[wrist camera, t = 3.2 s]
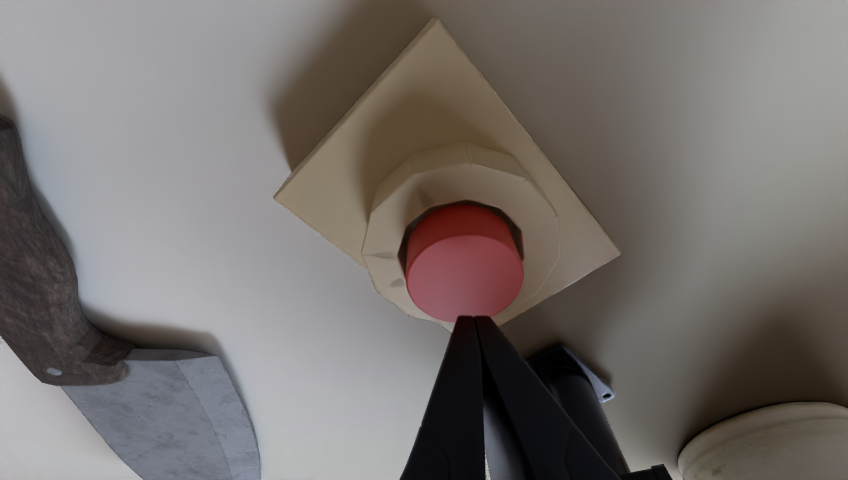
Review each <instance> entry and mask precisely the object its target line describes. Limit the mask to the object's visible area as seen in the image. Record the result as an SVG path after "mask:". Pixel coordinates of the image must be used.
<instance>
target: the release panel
mask: <svg viewBox="0 0 848 480" xmlns="http://www.w3.org/2000/svg"><path fill="white" fill-rule="evenodd" d="M273 198H274V200H275V201H277V202H278V203H279V204H281V205H282V206H283V207H285V208H286V209H287V210H289V211H290V212H291V213H293V214H294V215H295V216H297V217H298V218H299V219H301V220H302V221H303V222H305V223H306V224H307V225H309V226H310V227H311V228H312V229H314V230H315V231H316V232H318V233H319V234H320V235H322V236H323V237H324V238H326V239H327V240H328V241H330V242H331V243H332V244H334V245H335V246H336V247H338V248H339V249H340V250H342V251H343V252H344V253H346V254H347V255H348V256H349V257H351V258H352V259H353V260H355V261H356V262H357V263H359V264H360V265H361V266H363V267H364V268H365V269H367V270H368V272H369V274H370V277H371V279H372V282H373V284H374V286H375V289H376V290H377V292H378V293H379V294H380V295H382V296H383V297H384V298H386V299H387V300H388V301H390V302H391V303H393V304H394V305H395V306H397V307H398V308H399V309H401V310H402V311H403V312H405V313H406V314H408V315H409V316H412V317H416V318H421V319H426V320H431V321H435V322H437V323H438V324H439V325H441V326H442V327H443V328H445V329H446V330H447V331H449V332H450V333H451V334H452V331H453V328H454V325H455V323H452V322H446V321H442V320H439V319H436V318H433V317H431V316H429V315H427V314H426V313H424V312H423V311H422V310H421V309H419V308H418V307H417V306H416V305H415V303H414V302H413V301H412V299H411V298H410V296H409V293H408V291H407V287H406V265H407V249H408V242H409V238H410V236H411V233H412V232H413V230H414V228H415V227H416V226H417V224H418V223H419V222H420V221H421V220H422V219H423V218H425V217H426V216H427V215H429V214H430V213H432V212H434V211H436V210H438V209H440V208H443V207H447V206H451V205H459V204H467V205H475V206H479V207H482V208H485V209H487V210H489V211H491V212H493V213H495V214H496V215H498V216H499V217H500V218H501V219H502V220H503V221H504V222H505V224H506V225H507V227H508V228H509V230H510V233H511V236H512V238H513V241H514V243H515V246H516V249H517V251H518V254H519V257H520V259H521V262H522V265H523V270H524V277H523V283H522V286H521V289H520V291H519V293H518V295H517V296H516V298H515V299H514V300H513V302H512V303H511V304H510V305H509V306H508V307H506V308H505V309H504V310H502V311H501V312H499V313H498V314H496V315H494V316H492V317H491V318H492V319H493V321H494V322H495V323H496V325H497V326H498V327H499V326H501V325H503V324H504V323H506V322H508V321H510V320H511V319H513V318H515V317H516V316H518V315H520V314H521V313H523V312H525V311H526V310H528V309H530V308H532V307H533V306H535V305H537V304H538V303H540V302H542V301H543V300H545V299H547V298H548V297H550V296H552V295H553V294H555V293H557V292H559V291H560V290H562V289H564V288H565V287H567V286H569V285H570V284H572V283H574V282H575V281H577V280H579V279H581V278H582V277H584V276H586V275H587V274H589V273H591V272H592V271H594V270H596V269H597V268H599V267H601V266H602V265H604V264H606V263H608V262H609V261H611V260H613V259H614V258H616V257H618V256H619V255H620V254H621V252H620V251H619V249H618V248H617V247H616V246H615V244H614V243H613V242H612V240H611V239H610V238H609V237H608V235H607V234H606V233H605V231H604V230H603V229H602V228H601V226H600V225H599V224H598V223H597V221H596V220H595V219H594V217H593V216H592V215H591V214H590V212H589V211H588V210H587V208H586V207H585V206H584V205H583V203H582V202H581V201H580V200H579V198H578V197H577V196H576V194H575V193H574V192H573V191H572V189H571V188H570V187H569V185H568V184H567V183H566V182H565V180H564V179H563V178H562V176H561V175H560V174H559V173H558V171H557V170H556V169H555V168H554V166H553V165H552V164H551V162H550V161H549V160H548V159H547V157H546V156H545V155H544V153H543V152H542V151H541V150H540V148H539V147H538V146H537V145H536V143H535V142H534V141H533V139H532V138H531V137H530V136H529V134H528V133H527V132H526V130H525V129H524V128H523V127H522V125H521V124H520V123H519V121H518V120H517V119H516V118H515V116H514V115H513V114H512V113H511V111H510V110H509V109H508V107H507V106H506V105H505V104H504V102H503V101H502V100H501V98H500V97H499V96H498V95H497V93H496V92H495V91H494V90H493V88H492V87H491V86H490V84H489V83H488V82H487V81H486V79H485V78H484V77H483V75H482V74H481V73H480V72H479V70H478V69H477V68H476V66H475V65H474V64H473V63H472V61H471V60H470V59H469V58H468V56H467V55H466V54H465V52H464V51H463V50H462V49H461V47H460V46H459V45H458V43H457V42H456V41H455V40H454V38H453V37H452V36H451V35H450V33H449V32H448V31H447V29H446V28H445V27H444V26H443V24H442V23H441V22H440V20H439V19H438V18H437V17H433V18H432V19H431V20H430V21H429V22H428V24H427V25H426V26H425V27H424V28H423V29H422V30H421V31H420V32H419V33H418V35H417V36H416V37H415V38H414V39H413V40H412V41H411V42H410V43H409V44H408V46H407V47H406V48H405V49H404V50H403V51H402V52H401V53H400V54H399V55H398V56H397V58H396V59H395V60H394V61H393V62H392V63H391V64H390V65H389V66H388V67H387V69H386V70H385V71H384V72H383V73H382V74H381V75H380V76H379V77H378V78H377V80H376V81H375V82H374V83H373V84H372V85H371V86H370V87H369V88H368V89H367V91H366V92H365V93H364V94H363V95H362V96H361V97H360V98H359V99H358V100H357V101H356V103H355V104H354V105H353V106H352V107H351V108H350V109H349V110H348V111H347V112H346V114H345V115H344V116H343V117H342V118H341V119H340V120H339V121H338V122H337V123H336V125H335V126H334V127H333V128H332V129H331V130H330V131H329V132H328V133H327V134H326V136H325V137H324V138H323V139H322V140H321V141H320V142H319V143H318V144H317V145H316V146H315V148H314V149H313V150H312V151H311V152H310V153H309V154H308V155H307V156H306V157H305V159H304V160H303V161H302V162H301V163H300V164H299V165H298V166H297V167H296V168H295V170H294V171H293V172H292V173H291V174H290V175H289V177H288V178H287V179H286V181H285V182H284V183H283V184H282V186H281V187H280V188H279V190H278V191H277V192H276V194H275V195H274V197H273Z"/></svg>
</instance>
